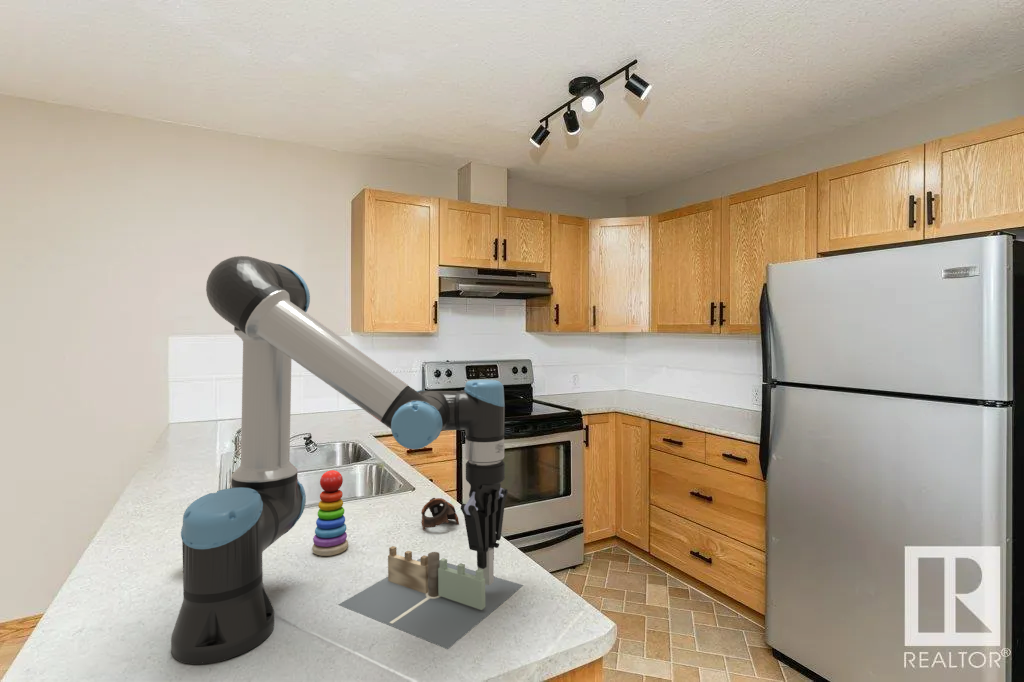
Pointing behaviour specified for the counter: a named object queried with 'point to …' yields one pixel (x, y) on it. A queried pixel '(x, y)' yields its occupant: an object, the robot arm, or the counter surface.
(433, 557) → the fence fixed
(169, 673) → the counter surface
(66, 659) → the counter surface
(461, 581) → the folding panel
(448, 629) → the board
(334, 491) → the stacking toy
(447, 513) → the brown jagged ring
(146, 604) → the counter surface
